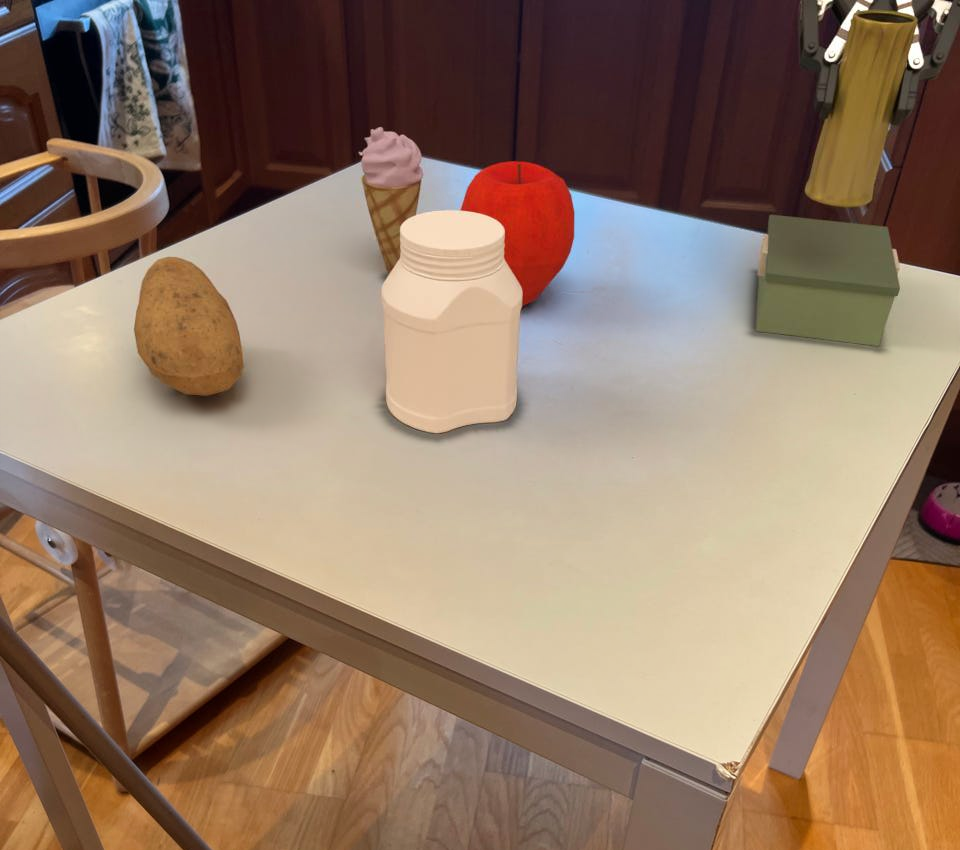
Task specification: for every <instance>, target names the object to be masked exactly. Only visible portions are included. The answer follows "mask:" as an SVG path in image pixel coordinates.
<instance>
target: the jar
mask: <svg viewBox="0 0 960 850" xmlns="http://www.w3.org/2000/svg"><path fill="white" fill-rule="evenodd" d="M504 239H505V230H504V227H503V226H502V224H501V223H500V222H498V221H497V220H495V219H493V218H491V217H489V216H486V215H483V214H479V213H475V212H468V211H460V210H458V209H454V210H453V209H445V210H432V211H425V212H423V213H418V214H416V215H415V216H413V217H411V218H409V219H407V220H406V221H405V222H403V224H402V225H401V227H400V243H401V244H400V249H401V252H400V259H399V260H398V262H397V263H396V265H395V266H394V268H393V269H392V271H391V272H390V274H389V275H387V277H386V279H385V280H384V282H383V283H382V286H381V292H380V294H381V305H382V311H383V329H384V330H383V332H384V351H385V372H386V373H385V375H386V377H385V378H386V384H385V400H386V405H387V408H388V410H389V411H390V413H391V414H392V416H394V417H395V418H396V419H397V420H398V421H400V422H401V423H403V424H404V425H407V426H409V427H411V428H413V429H416V430H419V431H422V432H427V433H432V434H440V433H441V434H442V433H446V432H449V431H452V430H455V429H458V428H461V427H465V426H470V425H476V424H486V423H487V424H488V423H498V422H503V421H506V420H508V418H510V417H511V415H512V414H513V413H514V411H515V409H516V406H517V402H518V401H517V399H518V386H517V376H518V364H519V363H518V361H519V342H520V327H521V326H520V325H521V310H522V308H523V306H522V296H523V292H522V288H521V286H520V284H519V282H518V281H517V279H516V277H515V276H514V274H513V273H512V271H511V269H510V268H509V266H508V265H507V263H506V261H505V260H504V246H505V244H504Z"/></svg>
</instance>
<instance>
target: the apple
mask: <svg viewBox="0 0 960 850" xmlns="http://www.w3.org/2000/svg"><path fill="white" fill-rule="evenodd" d="M459 211H468V212H475V213H479V214H483V215H486V216H489V217H491V218H493V219H495V220H497V221H498V222H500V223H501V224H502V226H503V227H504V230H505V239H504V244H505V246H504V260H505V261H506V263H507V265H508V266H509V268H510V269H511V271H512V273H513V274H514V276H515V277H516V279H517V281H518V282H519V284H520V286H521V288H522V292H523V296H522V307H524V306H526V305H528V304H531V303H532V302H534V301H536V300H537V299H539V296H540V295H541V294H542V293H543V292H544V290H545V289H546V288H547V287H548V286H549V285H550V283H552V281H553V280H554V279H555V278H556V276H557V275H558V274H559V273H560V271H561V270H562V269H563V268H564V266H565V264H566V262H567V261H568V258H569V256H570V254H571V252H572V248H573V245H574V240H575V207H574V202H573V196H572V194H571V191H570V190H569V188H568V186H567V183H566V182H565V179H563V178H562V177H560V176H559V175H557V174H556V173H554V172H553V171H552V170H550V169H548V168H546V167H544V166H542V165H539V164H536V163H532V162H528V161H519V160H518V161H517V160H515V161H514V160H512V161H503V162H497V163H494V164H492V165H488V166H487V167H485V168H483V169H481V170H480V171H479V172H477V174H475V175H474V177H473V178H472V179H471V181H470V182H469V184H468V186H467V187H466V191H465V193H464V198H463V201H462V203H461V207H460V210H459Z"/></svg>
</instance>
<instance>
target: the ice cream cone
mask: <svg viewBox="0 0 960 850" xmlns="http://www.w3.org/2000/svg"><path fill="white" fill-rule="evenodd" d="M364 141H365V142H366V143H367V147H365V148H364V149H363V150H362V151H358V154H359V155H360V156H362V158H361V161H360V164H361V169H362V172H363V175H362V176H361V183H362V188H363V192H364V193H363V194H364V197H365V201H366V206H367V209H368V210H367V211H368V213H369V217H370V220H371V225H372V228H373V231H374V234H375V238H376V241H377V244H378V248H379V250H380V251H379V252H380V253H381V256H382V260H383V263H384V266H385V269H386V272H387V276H389V274H390V272H391V271H392V269H393V268H394V266H395V265H396V263H397V262H398V260H399V259H400V252H401V249H400V244H401V243H400V227H401V225H402V224H403V222H405V221H406V220H407V219H409V218H411V217H413V216H415V215H417V211H418V206H419V200H420V199H419V198H420V192H421V186H422V179H423V177H424V171H423V168H422V167H421V166H420V165H421V162H422V157H423V156H422V153H421V150H420V148H419V147H418V145H417V143H415V141H413V140H412V139H411V138H408V137H407V136H406V135H404V134H400V135H398V133H396V132H395V131H384V128H383V127H382V126H380V127H377V128H375V129H373V128H372V129H370V136H368V137H364Z"/></svg>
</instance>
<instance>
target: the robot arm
mask: <svg viewBox="0 0 960 850" xmlns="http://www.w3.org/2000/svg"><path fill="white" fill-rule="evenodd" d="M829 9H830V11H831V13H832V15H833V16H834V18H835V20H836V22H837V23H838V25H839V28H838V31H837V32H836V34H835V36H834V37H833V39H832V40H831V43H830V44H829V45H828V47H827V48H825V47H823V46H821V45H820V41H819V37H820V36H819V35H820V34H819V22H821V21H822V20H823V18H824V15H825V12H826V11H827V10H829ZM863 10H888V11H896V12H902V13H906V14H910V15H913V16H915V17H916V18H917V19H918V22H917V27H916V30H915V34H914V38H913V41H912V45H911V49H910V52H909V55H908V59H907V63H906V66H905V70H904V74H903V77H902V80H901V83H900V87H899V91H898V95H897V98H896V102H895V106H894V109H893V113H892V117H891V121H890V126H897V127H898V126H900V125H901V123H902V122H903V120H907V119H908V118H909V116H910V115H911V113H912V111H913V109H914V107H915V106H916V101H917V96H918V89H919V83H920V81H922V80H925V81H929V82H932V81H935V80H936V79H937V78H938V76H939V74H940V72H941V69H942V68H943V66H944V64H945V63H946V61H947V59H948V57H949V54H950V52H951V48H952V47H953V44H954V41H955V38H956V36H957V33H958V31H959V28H960V0H953V1H949V0H800V2H799V5H798V9H797V30H798V31H797V38H798V66H799V68H800V69H801V70H803V71H808V70H809V71H810V70H812V71H814V72H815V73H816V74H817V83H816V88H815V94H814V98H813V99H814V100H813V109H814V112H819V115H818V118H819V119H823V120H825V119H828V116H829V113H830V111H831V108H832V104H833V98H834V93H835V87H836V81H837V75H838V72H839V68H840V64H841V61H842V57H843V53H844V49H845V45H846V41H847V37H848V33H849V29H850V25H851V21H852V17H853V14H854V13H856V12H858V11H863ZM928 16H929V17H930V18H932V28H933V29H934V30H933V31H934V33H935V34H938V35H937V37H936V40H935V42H934V45H933V47H932V50H931V52H930V54H926V55H924V54H923V51H922V48H921V43H920V37H921V36H920V33H921V32H920V30H919V25H920V24H921V23H922V22H923V21H924V20H925V19H926V18H927V17H928Z"/></svg>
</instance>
